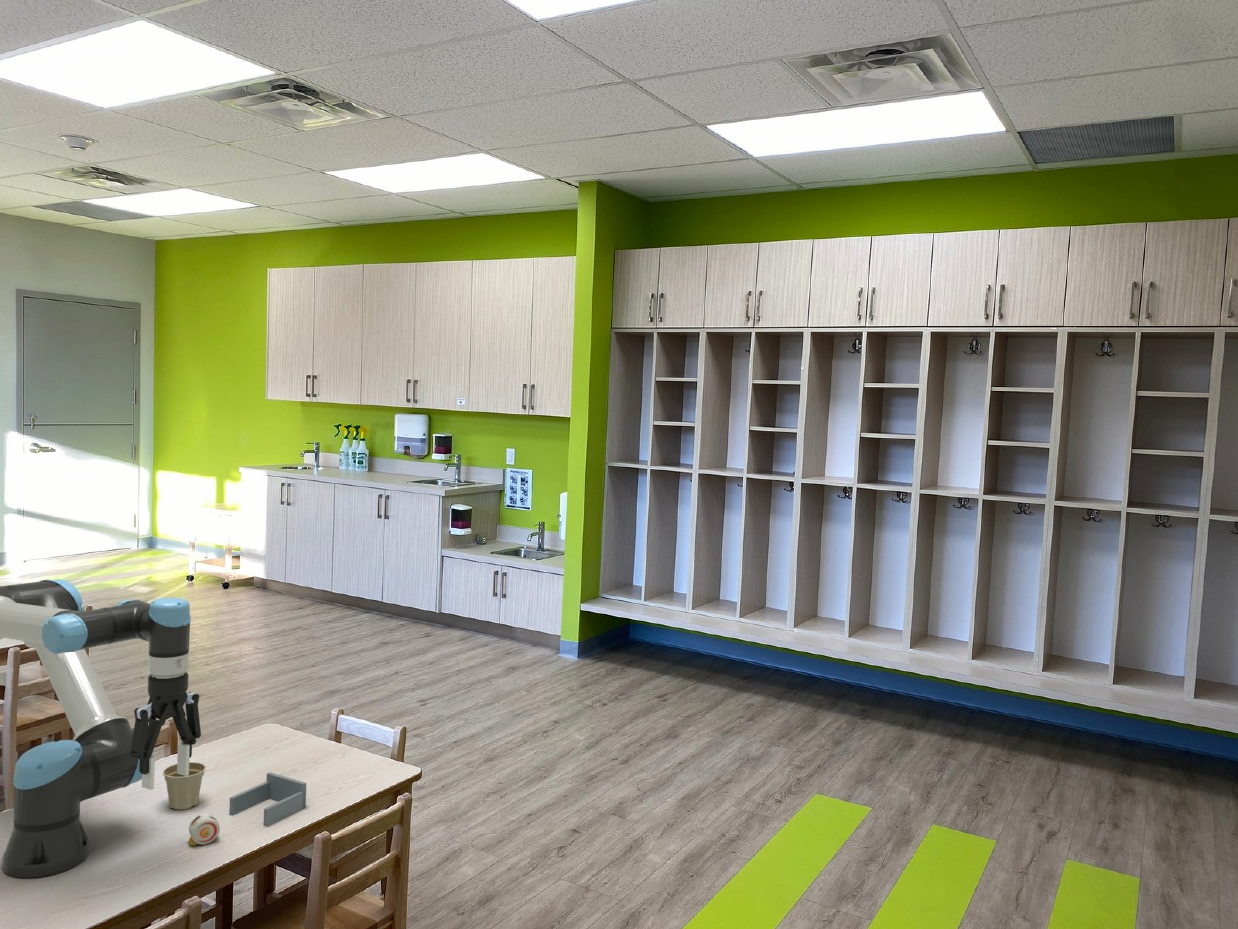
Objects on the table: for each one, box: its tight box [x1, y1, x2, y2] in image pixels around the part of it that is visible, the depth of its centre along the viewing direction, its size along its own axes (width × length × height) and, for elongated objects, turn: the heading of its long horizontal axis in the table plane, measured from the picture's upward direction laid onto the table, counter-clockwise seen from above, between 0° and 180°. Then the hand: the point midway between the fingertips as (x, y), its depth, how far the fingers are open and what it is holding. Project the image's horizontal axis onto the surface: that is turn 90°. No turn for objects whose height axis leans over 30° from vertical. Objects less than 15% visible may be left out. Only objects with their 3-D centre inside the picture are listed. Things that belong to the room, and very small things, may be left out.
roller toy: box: [188, 812, 221, 846], centre depth 198 cm, size 4×6×6 cm
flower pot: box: [162, 761, 207, 811], centre depth 215 cm, size 9×9×9 cm
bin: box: [228, 771, 307, 827], centre depth 214 cm, size 12×12×6 cm
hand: (165, 780), depth 188 cm, fingers open, 8 cm apart
